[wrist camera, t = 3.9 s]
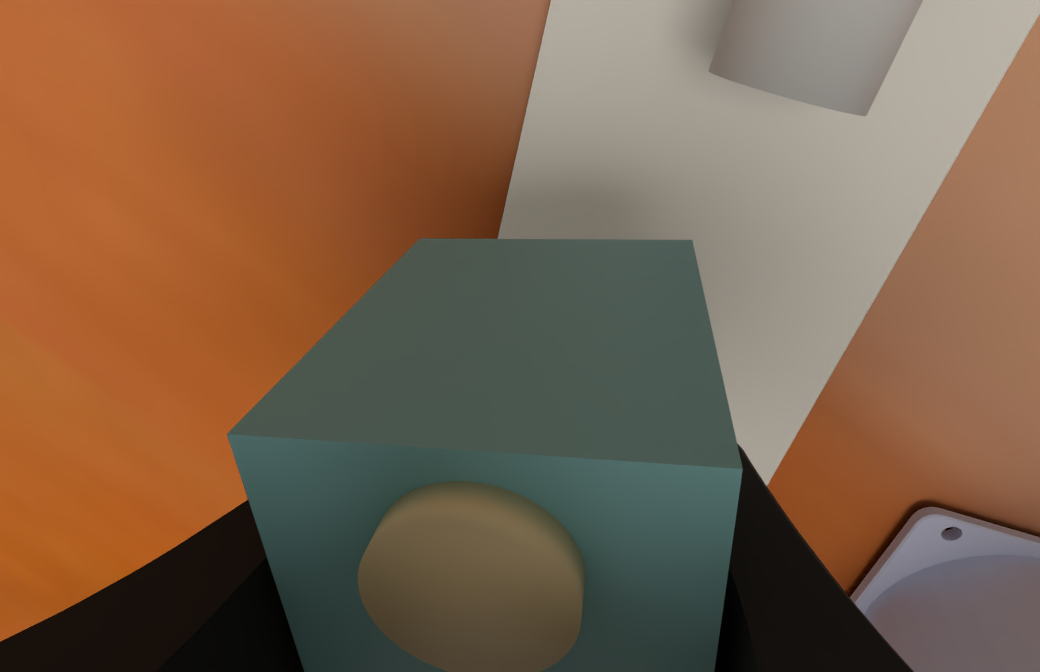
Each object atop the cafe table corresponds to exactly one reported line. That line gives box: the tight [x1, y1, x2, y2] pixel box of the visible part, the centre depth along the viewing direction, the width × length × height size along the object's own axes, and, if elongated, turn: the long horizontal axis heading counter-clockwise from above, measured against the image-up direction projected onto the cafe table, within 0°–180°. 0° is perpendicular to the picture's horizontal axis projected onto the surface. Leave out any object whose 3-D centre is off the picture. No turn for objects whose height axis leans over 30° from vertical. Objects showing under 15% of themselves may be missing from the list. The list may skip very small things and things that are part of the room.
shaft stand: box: [498, 0, 1040, 486], centre depth 14 cm, size 9×25×6 cm, turn 167°
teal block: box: [227, 238, 743, 672], centre depth 8 cm, size 6×4×5 cm, turn 3°
